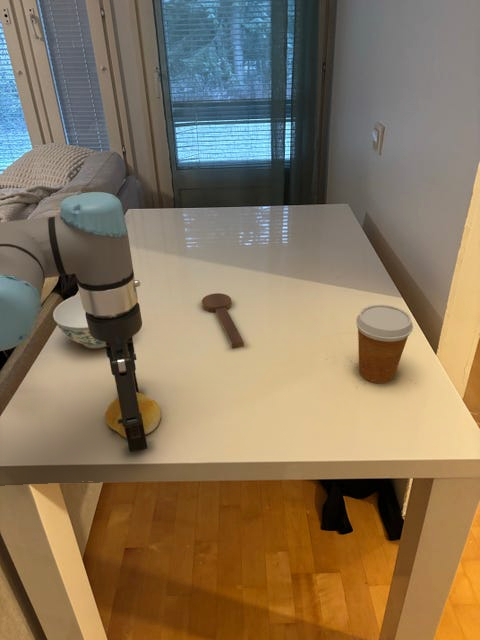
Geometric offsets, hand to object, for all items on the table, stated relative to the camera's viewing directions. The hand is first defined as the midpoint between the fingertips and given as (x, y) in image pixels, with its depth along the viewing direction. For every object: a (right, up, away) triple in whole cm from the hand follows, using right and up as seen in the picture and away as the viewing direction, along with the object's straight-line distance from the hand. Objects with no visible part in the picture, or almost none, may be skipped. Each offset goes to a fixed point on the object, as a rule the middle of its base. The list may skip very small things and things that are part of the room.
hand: (134, 419), depth 77 cm
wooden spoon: (+14, +16, +26) cm, 34 cm away
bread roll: (0, 0, 0) cm, 0 cm away
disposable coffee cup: (+42, +7, +9) cm, 44 cm away
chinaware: (-12, +12, +21) cm, 27 cm away
